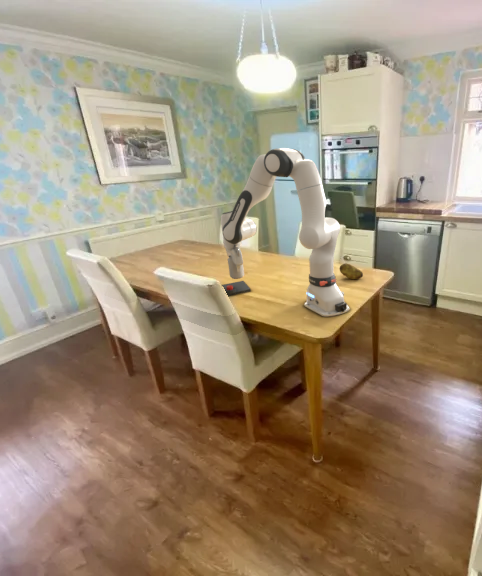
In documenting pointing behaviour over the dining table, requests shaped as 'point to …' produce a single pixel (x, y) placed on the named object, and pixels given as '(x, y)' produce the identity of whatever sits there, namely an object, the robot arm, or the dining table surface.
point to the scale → (237, 288)
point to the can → (232, 269)
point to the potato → (350, 271)
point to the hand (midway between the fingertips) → (236, 268)
